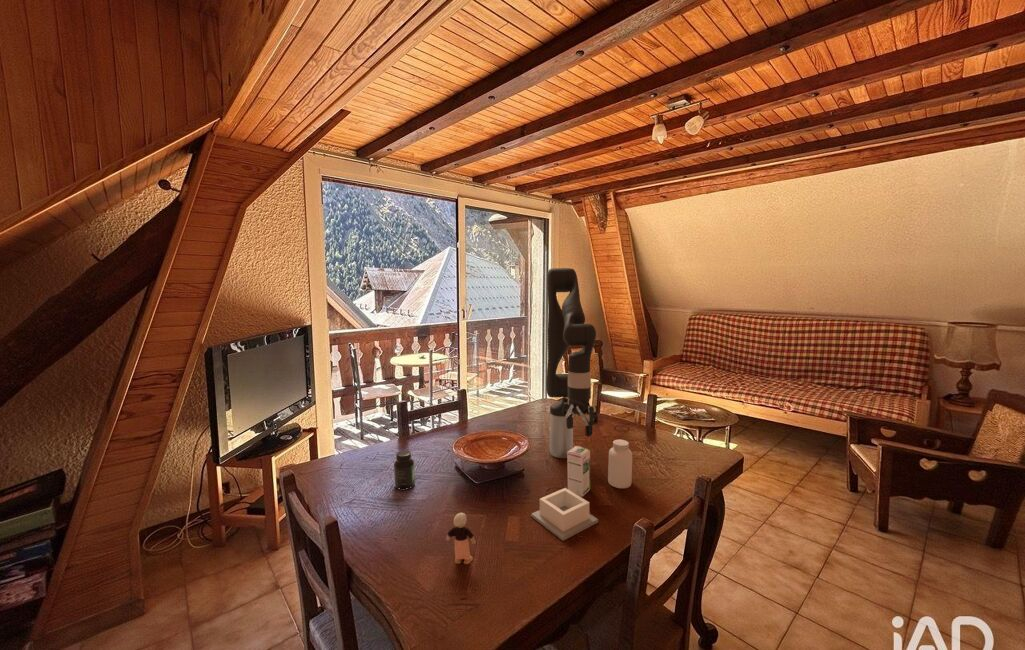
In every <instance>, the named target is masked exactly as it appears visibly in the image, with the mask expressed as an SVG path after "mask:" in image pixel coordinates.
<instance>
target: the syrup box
mask: <svg viewBox="0 0 1025 650" xmlns="http://www.w3.org/2000/svg"><path fill="white" fill-rule="evenodd" d="M566 459H567V463H566V464H567V469H566V470H567V489H568V490H570V491H571V492H573V493H575V494H576V495H578V496H579V497H581V498H583V497H584V496H585V495H586V494H587V493H588V492H589V491H590V490H591V450H590V449H589V448H587V447H583V446H579V445H575V446H573V448H572V449H571V450H569V451H568V452H567V458H566Z"/></svg>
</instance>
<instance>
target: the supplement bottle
mask: <svg viewBox="0 0 1025 650" xmlns="http://www.w3.org/2000/svg"><path fill="white" fill-rule="evenodd" d="M395 456H396V460H395V461H394V463H393V470H394V471H393V475H394V487H395V486H396V487H397V488H400V489H406V488H410V487H412V486H413V485H414V484H415V485H416V475H415V461H414V459H413V458H412V454H411V451H410V450H406V449H405V450H400V451H398V452H396V455H395ZM415 485H414V486H415ZM414 486H413V487H414ZM413 487H412V488H413Z"/></svg>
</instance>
